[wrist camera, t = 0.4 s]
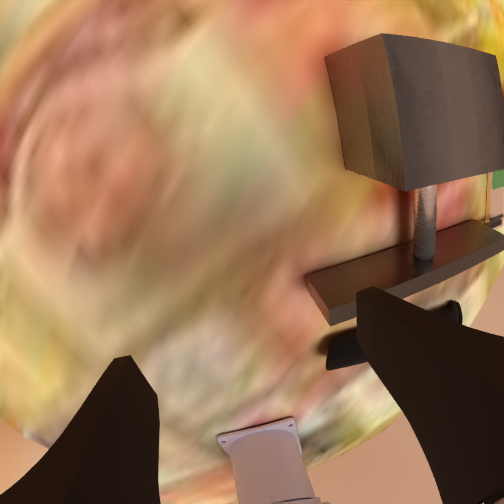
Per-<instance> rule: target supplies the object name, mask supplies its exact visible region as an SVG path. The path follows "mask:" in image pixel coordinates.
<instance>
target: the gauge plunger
mask: <svg viewBox="0 0 504 504" xmlns="http://www.w3.org/2000/svg"><path fill="white" fill-rule="evenodd" d="M413 208H414V229H413V241H412V242H409V243H406V244H403V245H400V246H397V247H394V248H391V249H388V250H385V251H382V252H379V253H376V254H373V255H370V256H367V257H364V258H360V259H357V260H354V261H351V262H348V263H345V264H341V265H338V266H335V267H332V268H329V269H325V270H322V271H319V272H315V273H312V274H309V275H305V276H306V283H307V290H308V292H309V294H310V295H311V297H312V298H313V300H314V301H315V303H316V305H317V306H318V308H319V309H320V311H321V312H322V314H323V316H324V317H325V319H326V320H327V322H328V324H329V325H330V326H333V325H336V324H338V323H341V322H344V321H347V320H350V319H352V318H355V317H357V311H356V292H358V291H360V290H363V289H366V288H369V287H371V286H374V287H376V288H379V289H381V290H383V291H386V292H388V293H390V294H392V295H394V296H396V297H399V298H401V299H403V298H406V297H408V296H410V295H413V294H415V293H417V292H420V291H422V290H424V289H427V288H429V287H431V286H433V285H435V284H438V283H440V282H442V281H444V280H446V279H448V278H450V277H453V276H455V275H457V274H459V273H461V272H463V271H465V270H467V269H469V268H471V267H473V266H475V265H477V264H479V263H481V262H483V261H485V260H486V259H488V258H490V257H492V256H494V255H496V254H498V253H500V252H501V251H503V250H504V235H503V234H501V233H500V232H498V231H496V230H494V229H492V228H495V227H497V226H499V225H501V223H502V219H500V218H496V219H494V220H491V221H489V222H487V223H484V224H482V223H480V222H478V221H476V220H471V221H468V222H466V223H463V224H460V225H457V226H455V227H452V228H449V229H446V230H443V231H441V232H438V233H436V216H437V184H436V185H431V186H427V187H423V188H419V189H414V190H413Z"/></svg>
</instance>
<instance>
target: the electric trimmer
mask: <svg viewBox="0 0 504 504" xmlns="http://www.w3.org/2000/svg"><path fill="white" fill-rule="evenodd" d="M433 313H434V314H436V315H438V316H441V317H443V318H446V319H448V320H451V321H454V322H456V323H459V324H461V325H462V319H463V317H462V311H461V307H460V304H459V303H458V302H454V301H450V302H449V304H448V307H447V308H445V309H442V310H439V311H436V312H433ZM365 362H368V360H367V358H366V357H365V355H364V353H363V351H362V349H361V347H360V345H359V343H358V341H357V330H356V331H353V332H350V333H348V334H345V335H342V336H339V337H336V338H333V339H332V340H330V343H329V348H328V354H327V359H326V370H334V369H339V368H343V367H348V366H352V365H357V364H361V363H365Z"/></svg>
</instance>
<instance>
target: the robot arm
mask: <svg viewBox="0 0 504 504" xmlns="http://www.w3.org/2000/svg"><path fill="white" fill-rule="evenodd" d="M356 311H357V341H358V343H359V345H360V347H361V349H362V351H363V353H364V355H365V357H366V358H367V360H368V362H369V364H370V365H371V367H372V368H373V370H374V371H375V373H376V374H377V376H378V377H379V378H380V380H381V381H382V383H383V384H384V386H385V387H386V388H387V390H388V391H389V393H390V394H391V396H392V397H393V398H394V400H395V401H396V403H397V404H398V406H399V407H400V408H401V410H402V411H403V413H404V415H405V416H406V418H407V419H408V421H409V423H410V425H411V427H412V429H413V431H414V433H415V435H416V437H417V439H418V441H419V443H420V445H421V447H422V449H423V451H424V454H425V456H426V458H427V461H428V463H429V465H430V468H431V471H432V473H433V476H434V478H435V481H436V484H437V487H438V490H439V493H440V496H441V499H442V502H443V504H482V503H483V502H484V504H504V337H503V336H498V335H494V334H490V333H487V332H483V331H480V330H477V329H473V328H470V327H467V326H464V325H461V324H459V323H456V322H454V321H451V320H448V319H446V318H443V317H441V316H438V315H436V314H434V313H431V312H429V311H427V310H424V309H422V308H420V307H418V306H416V305H414V304H411V303H409V302H407V301H405V300H403V299H401V298H399V297H396V296H394V295H392V294H390V293H388V292H386V291H383V290H381V289H379V288H376V287H374V286H371V287H369V288H366V289H363V290H360V291H358V292H356ZM159 428H160V421H159V408H158V397H157V394H156V393H155V391H154V390H153V389H152V387H151V386H150V384H149V383H148V381H147V380H146V378H145V377H144V375H143V374H142V372H141V371H140V369H139V368H138V366H137V365H136V363H135V362H134V360H133V358H132V357H131V355H129V356H124V357H119V358H114V359H113V361H112V362H111V363H110V365H109V366H108V367H107V369H106V370H105V372H104V373H103V374H102V376H101V377H100V379H99V380H98V382H97V383H96V385H95V386H94V388H93V389H92V391H91V392H90V394H89V395H88V397H87V398H86V400H85V401H84V403H83V404H82V406H81V407H80V409H79V410H78V412H77V413H76V414H75V416H74V417H73V419H72V420H71V421H70V423H69V424H68V426H67V427H66V429H65V430H64V431H63V433H62V434H61V435H60V437H59V438H58V439H57V440H56V442H55V443H54V444H53V445H52V446H51V448H50V449H49V450H48V451H47V453H46V454H45V455H44V456H43V457H42V458H41V459H40V460H39V461H38V462H37V463H36V464H35V465H34V466H33V467H32V468H31V469H30V470H29V471H28V472H27V473H26V474H25V475H24V476H23V477H22V478H21V479H20V480H19V481H18V482H16V483H15V484H14V485H13V486H12V487H10V488H9V489H8V490H6V491H5V492H4V493H2V494H1V495H0V504H160V496H159V485H158V461H159ZM217 441H218V442H219V444H220V445H221V446H222V448H223V449H224V450H225V452H226V453H227V454H228V456H229V457H230V459H231V463H232V469H233V475H234V480H235V486H236V491H237V496H238V502H239V504H330V503H329V502H324V503H321V500H320V498H319V497H315V494H314V491H313V488H312V486H311V483H310V480H309V477H308V474H307V471H306V468H305V465H304V462H303V459H302V456H301V454H302V449H301V445H300V441H299V436H298V432H297V427H296V423H295V420H294V418H287V419H284V420H280V421H277V422H273V423H269V424H266V425H262V426H258V427H254V428H250V429H245V430H241V431H237V432H232V433H227V434H223V435H219V436H217Z"/></svg>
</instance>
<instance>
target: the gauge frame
mask: <svg viewBox="0 0 504 504" xmlns="http://www.w3.org/2000/svg"><path fill="white" fill-rule="evenodd" d="M325 61H326V65H327V70H328V74H329V78H330V83H331V88H332V93H333V98H334V103H335V108H336V113H337V119H338V124H339V130H340V136H341V143H342V149H343V156H344V163H345V169H347V170H350V171H353V172H356V173H358V174H361V175H364V176H367V177H369V178H372V179H375V180H377V181H380V182H382V183H385V184H388V185H390V186H393V187H395V188H398V189H400V190H402V191H405V192H406V191H410V190H414V189H419V188H423V187H427V186H431V185H436V184H440V183H444V182H449V181H453V180H458V179H462V178H467V177H471V176H476V175H480V174H485V173H487V201H486V215H485V223H487V222H489V221H491V220H494V219H496V218H500V219H502V223H501V225H499V226H497V227H495V228H492V229H494V230H495V229H497V228H499V227H502V226H503V220H504V102H503V94H502V87H501V81H500V75H499V69H498V64H497V59H496V56H495V55H492V54H489V53H485V52H482V51H478V50H475V49H471V48H467V47H463V46H459V45H454V44H450V43H445V42H440V41H435V40H429V39H423V38H417V37H410V36H402V35H393V34H382V33H381V34H378V35H376V36H373V37H371V38H368V39H365V40H363V41H360V42H358V43H356V44H353V45H351V46H348V47H346V48H344V49H341V50H339V51H337V52H335V53H332V54H330V55H328V56H326V57H325Z"/></svg>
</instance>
